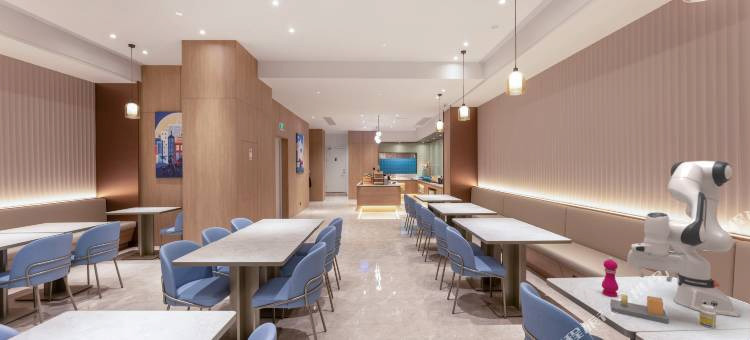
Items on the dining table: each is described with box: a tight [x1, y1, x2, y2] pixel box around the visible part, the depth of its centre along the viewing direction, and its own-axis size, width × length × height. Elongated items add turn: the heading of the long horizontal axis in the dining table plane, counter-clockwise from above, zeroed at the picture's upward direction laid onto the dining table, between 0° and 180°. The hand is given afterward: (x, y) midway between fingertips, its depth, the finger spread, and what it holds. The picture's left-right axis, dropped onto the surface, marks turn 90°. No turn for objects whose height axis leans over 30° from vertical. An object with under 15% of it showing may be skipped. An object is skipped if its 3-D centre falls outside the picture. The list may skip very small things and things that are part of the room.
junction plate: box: [610, 293, 670, 325], centre depth 151 cm, size 20×12×7 cm, turn 55°
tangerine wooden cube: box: [646, 295, 664, 315], centre depth 147 cm, size 5×5×6 cm
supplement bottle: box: [699, 304, 717, 329], centre depth 139 cm, size 5×5×8 cm
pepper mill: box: [601, 256, 619, 298], centre depth 172 cm, size 7×7×20 cm
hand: (655, 279), depth 147 cm, fingers open, 8 cm apart
